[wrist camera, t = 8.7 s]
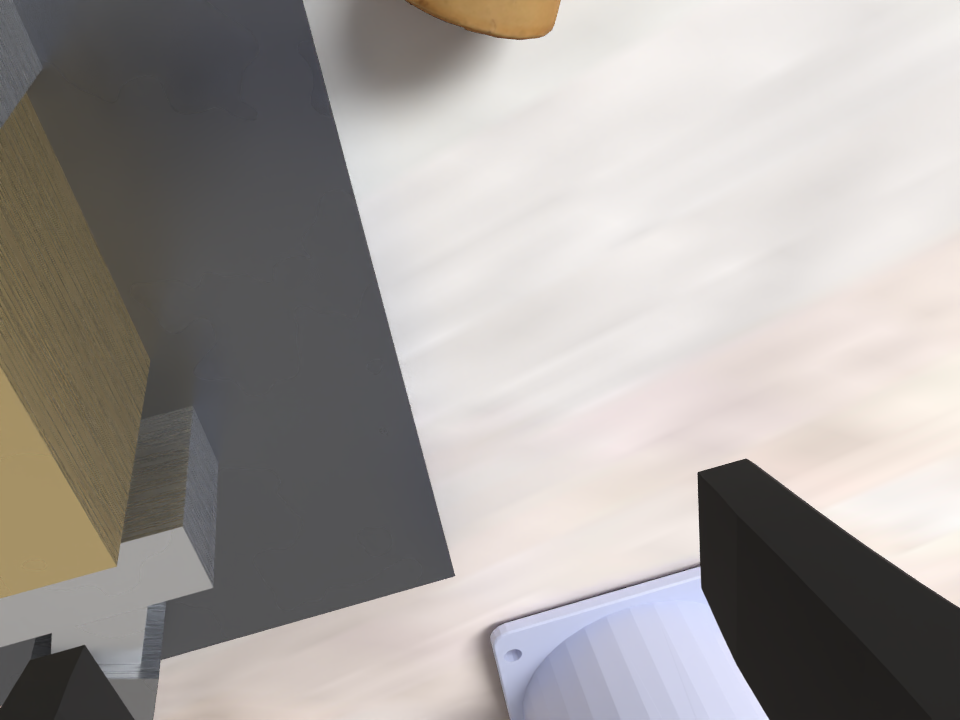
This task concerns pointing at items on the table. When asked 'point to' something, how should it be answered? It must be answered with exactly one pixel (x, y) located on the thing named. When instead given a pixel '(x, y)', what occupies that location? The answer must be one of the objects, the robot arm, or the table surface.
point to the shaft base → (223, 334)
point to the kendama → (496, 16)
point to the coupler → (59, 375)
